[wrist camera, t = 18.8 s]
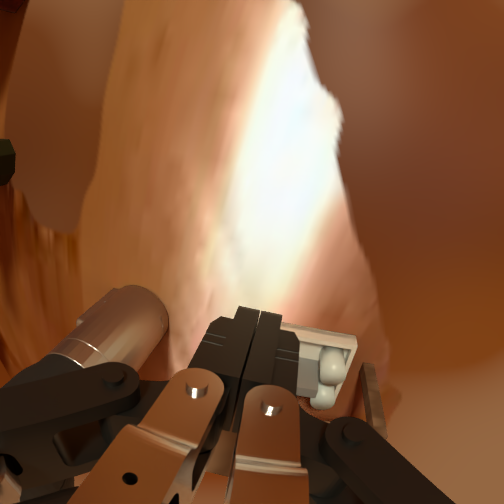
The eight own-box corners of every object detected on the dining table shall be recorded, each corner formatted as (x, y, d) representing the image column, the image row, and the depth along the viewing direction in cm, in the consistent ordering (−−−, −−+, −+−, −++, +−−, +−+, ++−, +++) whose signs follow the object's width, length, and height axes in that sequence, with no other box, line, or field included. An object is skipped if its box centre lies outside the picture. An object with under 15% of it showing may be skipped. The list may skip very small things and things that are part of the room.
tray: (254, 375, 45) (246, 408, 38) (266, 318, 41) (258, 350, 35) (334, 389, 43) (335, 423, 37) (355, 335, 40) (361, 368, 33)
